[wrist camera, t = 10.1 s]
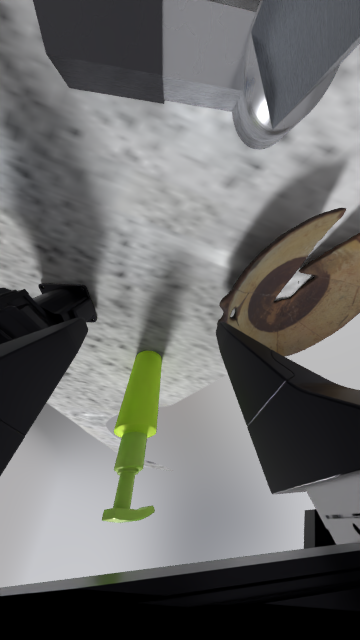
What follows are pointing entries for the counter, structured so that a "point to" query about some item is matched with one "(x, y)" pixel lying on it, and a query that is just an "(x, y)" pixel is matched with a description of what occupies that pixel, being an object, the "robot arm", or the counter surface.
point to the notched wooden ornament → (309, 301)
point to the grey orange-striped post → (301, 47)
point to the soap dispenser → (135, 433)
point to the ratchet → (167, 57)
